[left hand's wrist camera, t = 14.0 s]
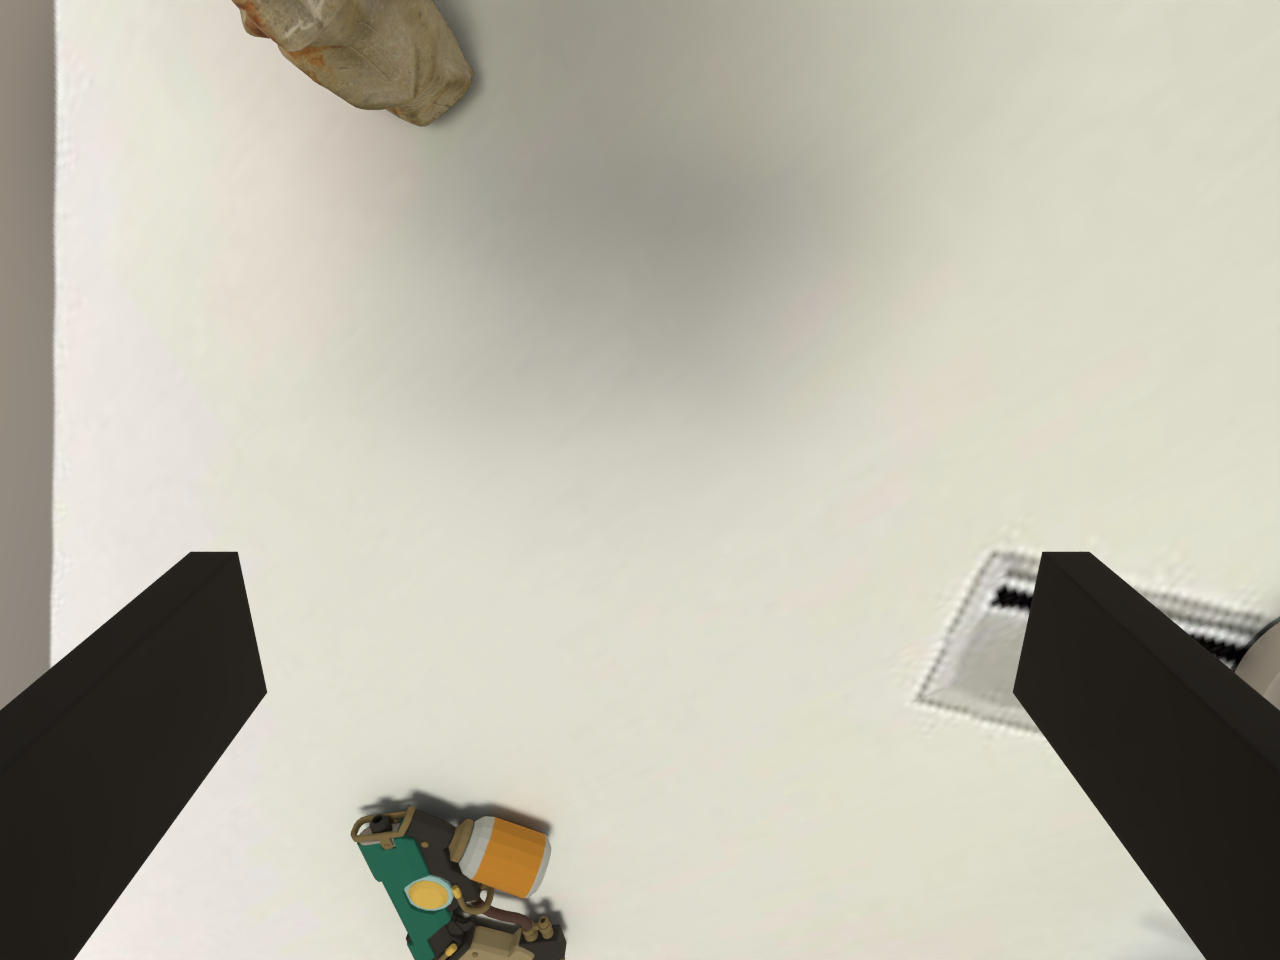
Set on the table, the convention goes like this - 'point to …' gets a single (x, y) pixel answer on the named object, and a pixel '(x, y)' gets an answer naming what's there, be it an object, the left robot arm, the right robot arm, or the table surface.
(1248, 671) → the bust sculpture
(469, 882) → the spray gun
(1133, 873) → the table surface
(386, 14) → the sculpture
